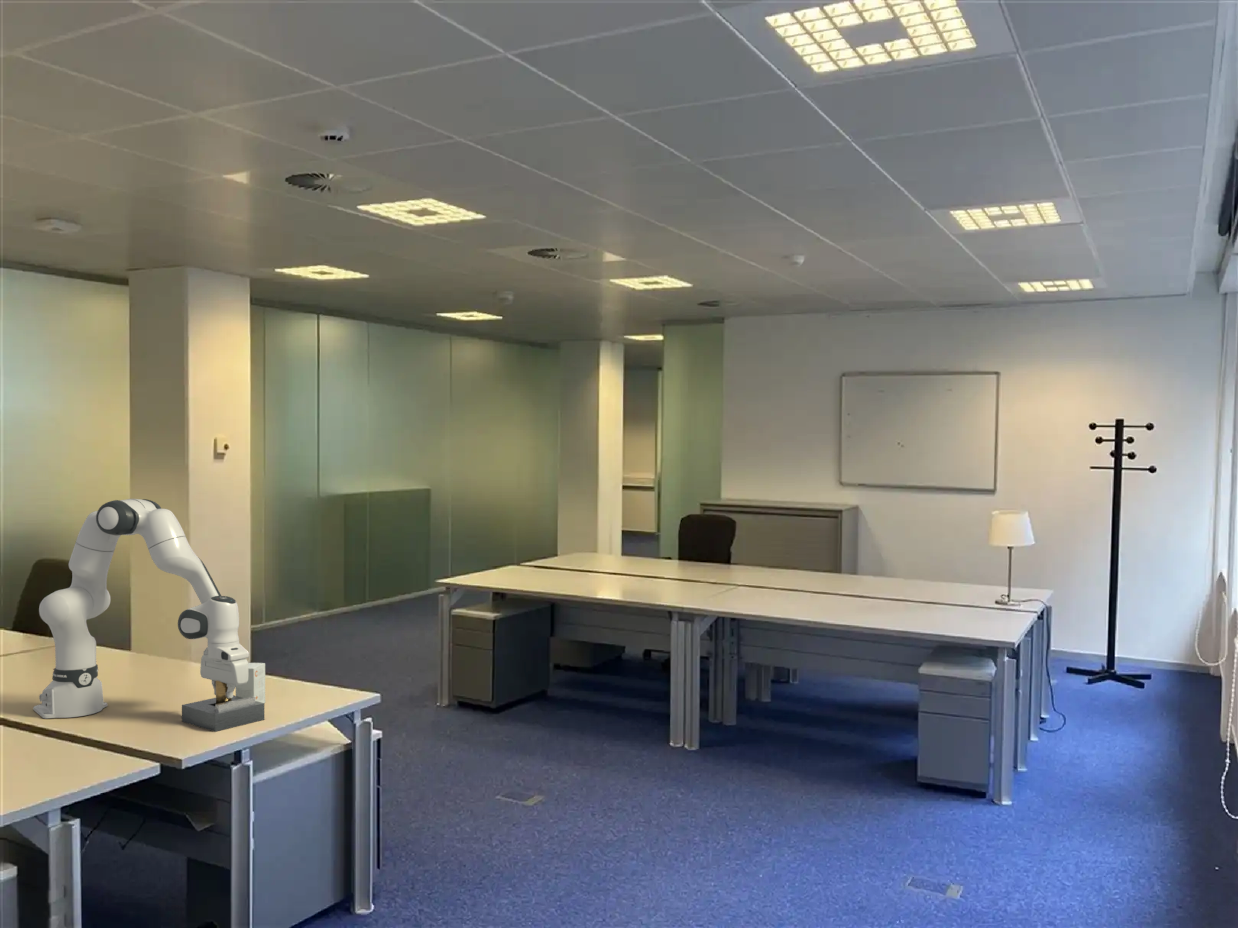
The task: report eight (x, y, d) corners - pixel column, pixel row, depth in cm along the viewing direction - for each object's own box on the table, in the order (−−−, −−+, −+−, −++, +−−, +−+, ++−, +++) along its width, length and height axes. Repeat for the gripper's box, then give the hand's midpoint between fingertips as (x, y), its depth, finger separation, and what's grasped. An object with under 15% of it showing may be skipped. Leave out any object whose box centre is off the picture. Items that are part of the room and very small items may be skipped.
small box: (246, 702, 314) (246, 662, 314) (265, 702, 314) (265, 662, 314) (234, 708, 306) (234, 667, 306) (254, 709, 306) (254, 668, 306)
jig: (181, 721, 292) (181, 698, 292) (230, 710, 305) (230, 688, 304) (215, 731, 281) (215, 707, 281) (264, 719, 294) (264, 696, 294)
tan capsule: (212, 706, 292) (212, 680, 292) (226, 703, 296) (226, 677, 296) (221, 709, 290) (221, 682, 290) (234, 705, 293) (234, 679, 293)
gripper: (194, 648, 296) (194, 693, 296) (233, 656, 284) (233, 703, 284) (213, 644, 301) (214, 689, 301) (252, 652, 289) (252, 698, 289)
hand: (223, 696), depth 293 cm, fingers closed on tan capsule, 4 cm apart
